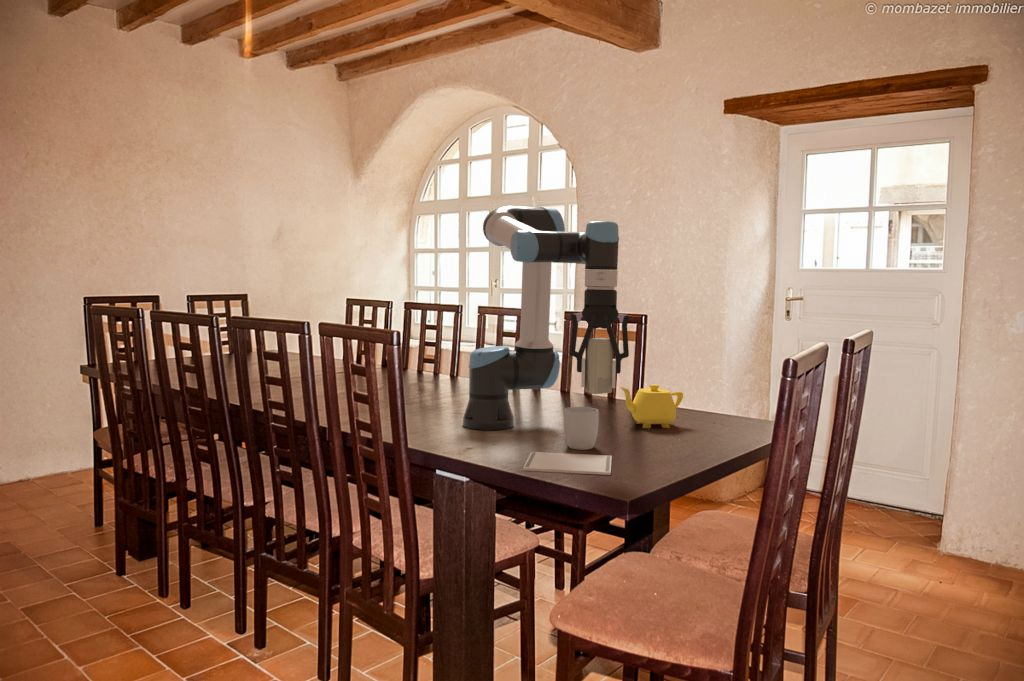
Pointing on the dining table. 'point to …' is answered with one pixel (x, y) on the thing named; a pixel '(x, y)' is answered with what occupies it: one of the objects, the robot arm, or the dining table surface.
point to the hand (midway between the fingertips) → (598, 386)
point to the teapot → (653, 406)
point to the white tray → (569, 463)
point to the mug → (581, 427)
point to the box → (598, 366)
